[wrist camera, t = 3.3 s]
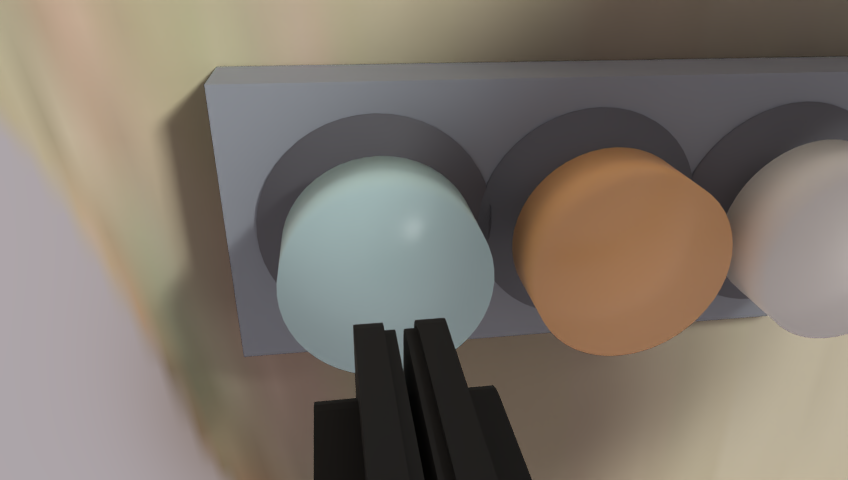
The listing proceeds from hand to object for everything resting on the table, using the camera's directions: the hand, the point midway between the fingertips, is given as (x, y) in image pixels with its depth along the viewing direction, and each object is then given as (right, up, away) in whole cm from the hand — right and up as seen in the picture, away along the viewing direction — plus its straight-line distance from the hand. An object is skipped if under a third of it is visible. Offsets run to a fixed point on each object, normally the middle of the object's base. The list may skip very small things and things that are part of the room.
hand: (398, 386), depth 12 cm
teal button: (-1, +3, +5) cm, 5 cm away
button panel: (+5, +4, +8) cm, 10 cm away
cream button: (+11, +3, +6) cm, 13 cm away
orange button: (+5, +3, +5) cm, 8 cm away
